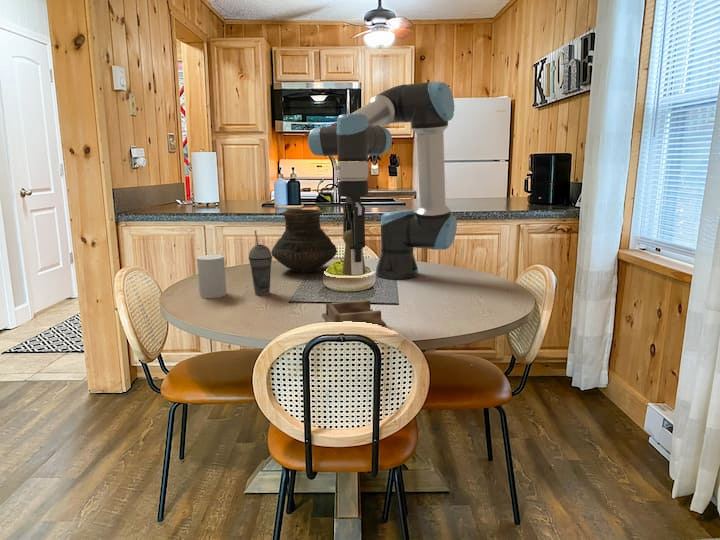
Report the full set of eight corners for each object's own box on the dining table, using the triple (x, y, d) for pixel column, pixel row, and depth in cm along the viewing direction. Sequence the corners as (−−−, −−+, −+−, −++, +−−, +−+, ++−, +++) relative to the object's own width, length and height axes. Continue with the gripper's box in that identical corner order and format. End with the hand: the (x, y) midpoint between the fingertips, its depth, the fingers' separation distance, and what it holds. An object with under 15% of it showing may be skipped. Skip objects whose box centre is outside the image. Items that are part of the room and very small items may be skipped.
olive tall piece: (341, 270, 133) (340, 228, 131) (364, 270, 134) (364, 228, 131) (342, 275, 127) (342, 232, 125) (366, 275, 128) (366, 231, 126)
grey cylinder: (231, 292, 163) (229, 255, 160) (214, 299, 155) (211, 260, 153) (211, 290, 166) (209, 254, 163) (194, 296, 159) (190, 258, 156)
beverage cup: (268, 296, 157) (265, 232, 153) (246, 295, 159) (242, 231, 154) (277, 291, 164) (274, 229, 160) (255, 290, 166) (252, 228, 161)
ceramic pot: (284, 263, 208) (282, 207, 203) (342, 264, 204) (341, 208, 199) (263, 276, 184) (260, 214, 180) (328, 278, 180) (327, 215, 176)
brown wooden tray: (372, 311, 141) (371, 298, 140) (385, 325, 129) (385, 312, 128) (321, 315, 138) (321, 302, 137) (331, 331, 125) (330, 316, 125)
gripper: (330, 178, 134) (332, 265, 139) (346, 181, 116) (348, 280, 121) (358, 178, 136) (359, 263, 140) (378, 180, 118) (378, 278, 122)
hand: (354, 271), depth 131 cm, fingers closed on olive tall piece, 6 cm apart
